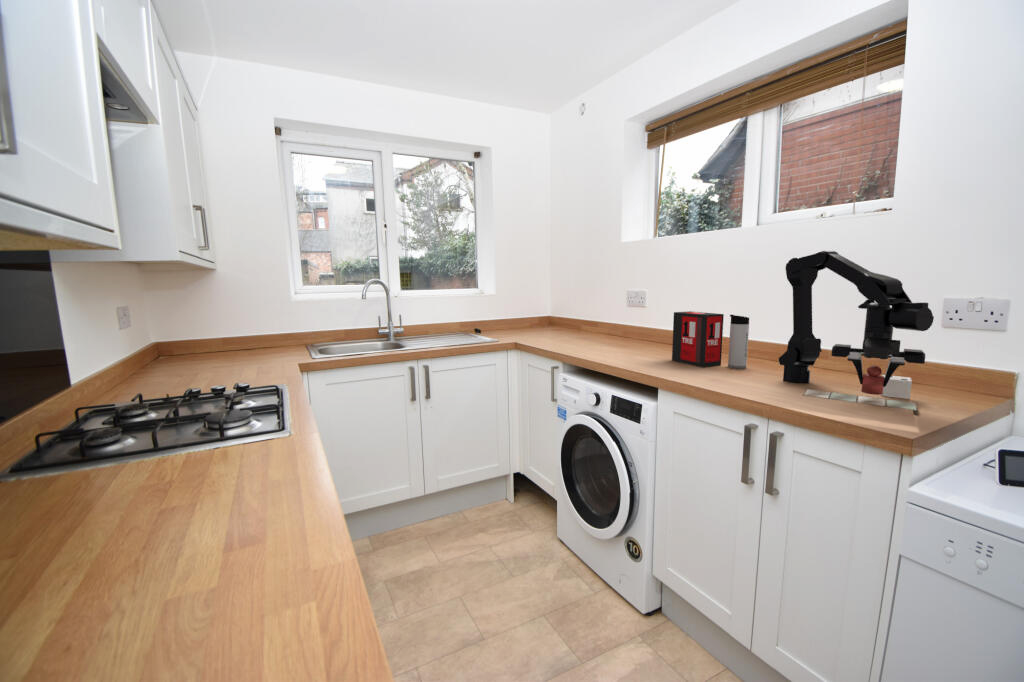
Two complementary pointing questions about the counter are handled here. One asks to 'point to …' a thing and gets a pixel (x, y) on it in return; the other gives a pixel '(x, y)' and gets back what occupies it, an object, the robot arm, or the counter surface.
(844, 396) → the board
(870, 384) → the pawn
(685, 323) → the cleaning product box
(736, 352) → the travel mug
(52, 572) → the counter surface
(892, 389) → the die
